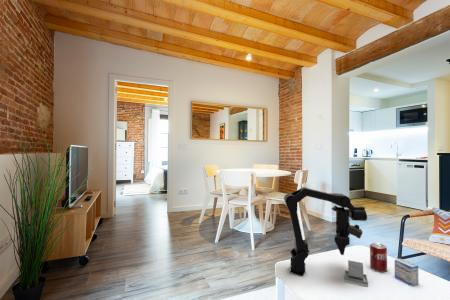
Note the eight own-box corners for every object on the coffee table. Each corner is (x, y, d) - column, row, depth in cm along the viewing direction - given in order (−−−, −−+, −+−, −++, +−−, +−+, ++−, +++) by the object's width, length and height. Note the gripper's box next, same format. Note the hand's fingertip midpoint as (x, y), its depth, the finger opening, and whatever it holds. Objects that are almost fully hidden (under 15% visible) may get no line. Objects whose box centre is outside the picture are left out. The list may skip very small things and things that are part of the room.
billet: (348, 278, 106) (348, 263, 106) (348, 274, 110) (348, 260, 110) (363, 282, 103) (363, 266, 103) (362, 277, 107) (362, 262, 107)
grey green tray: (344, 281, 105) (344, 277, 105) (344, 274, 112) (344, 270, 112) (368, 287, 101) (367, 282, 101) (366, 278, 108) (366, 274, 108)
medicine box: (394, 277, 109) (393, 259, 109) (400, 275, 110) (400, 257, 110) (412, 286, 101) (412, 267, 101) (419, 284, 103) (418, 265, 103)
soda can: (390, 270, 114) (390, 247, 114) (380, 273, 112) (380, 249, 112) (376, 264, 121) (376, 241, 121) (366, 266, 118) (366, 244, 119)
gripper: (362, 228, 100) (362, 263, 100) (360, 217, 116) (360, 247, 116) (334, 224, 105) (334, 257, 105) (336, 214, 122) (336, 243, 122)
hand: (342, 251), depth 112 cm, fingers open, 9 cm apart
